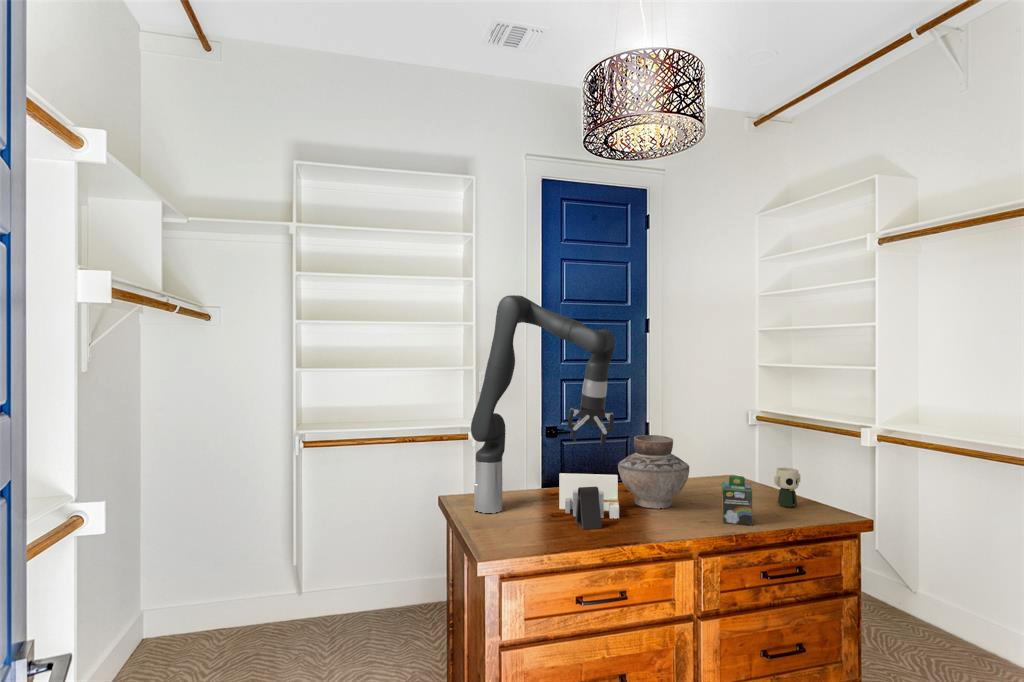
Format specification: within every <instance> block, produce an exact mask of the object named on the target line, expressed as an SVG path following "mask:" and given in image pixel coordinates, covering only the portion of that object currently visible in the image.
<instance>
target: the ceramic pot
mask: <svg viewBox="0 0 1024 682" xmlns="http://www.w3.org/2000/svg"><path fill="white" fill-rule="evenodd" d="M673 446H674V439H673V437H668V436H664V435H660V434H659V435H657V434H643V435H641V434H640V435H636V436H634V437H633V449H634V451H635V452H634V453H631V454H630V455H628V456H626V457H625V458H624V459H622V460H620V461H619V462H618V463H617V471H618V473H619V477H620V480H621V481H622V484H623V486H625V488H626V489H627V490H628V492H630V493H631V494H632V495H633V496H634V503H635V505H636V506H639V507H642V508H647V509H655V510H657V509H659V510H660V508H662V509H668V508H670V507H671V506H672V502H673V501H672V499H673V498H675V497H676V496H677V495H678V494H680V492H681V491H682V490H683V488H684V487H685V485H686V483H687V481H688V478H689V475H690V465H689V464H688V463H687V462H685V461H684V460H683V459H681V458H680V457H678V456H676V455H675V454H672V452H673V448H674V447H673Z"/></svg>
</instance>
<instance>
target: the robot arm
mask: <svg viewBox="0 0 1024 682" xmlns="http://www.w3.org/2000/svg"><path fill="white" fill-rule="evenodd" d="M520 323H524V324H529V325H534V326H537V327H539V328H542V329H544V330H545V331H546V332H549V333H550V334H551V335H553V336H555V337H556V338H559V339H560V340H564V341H567V342H569V343H572V344H575V345H576V346H578V347H580V348H581V349H583V350H584V351H586V352H588V353H590V354H591V355H590V358H589V360H587V362H586V365H585V372H584V373H585V374H584V380H583V383H582V389H581V400H580V406H579V407H580V408H579V409H577V408H576V409H574V407H570V409H569V414H568V420H567V428H569V429H571V430H572V433H571V439H572V440H573V442H574V443H575V442H576V441H577V436H578V435H577V434H578V429H579V428H580V427H581V426H582V425H583V424H585V425H586V426H593V427H594V426H598V427H599V429H600V430H601V435H600V446H603V445H604V444H605V443H606V441H607V435H608V434H613V433H614V420H615V415H614V413H613V412H609V413H608V412H607V413H606V412H605V410H606V409H605V408H606V402H607V393H608V392H607V390H608V375H609V368H610V367H609V366H610V364H611V361H612V357H613V354H614V350H615V344H616V342H615V340H616V339H615V337H614V334H613V333H612V332H611V331H610V330H608V329H599V330H597V329H596V330H595V329H592V328H589V327H587V326H586V324H585V323H583V322H581V321H578V320H576V319H573V318H571V317H568V316H565V315H563V314H559V313H556V312H555V311H551V310H549V309H547V308H544V307H543V306H541V305H538V304H537V303H535V302H534V301H533V300H530V299H528V298H527V297H525V296H523V295H518V294H517V295H515V294H514V295H506V296H504V297H502V298H501V300H499V302H498V305H497V309H496V315H495V324H494V333H493V338H492V342H491V346H490V351H489V356H488V360H487V363H486V369H485V372H484V378H483V382H482V387H481V391H480V395H479V398H478V402H477V405H476V407H475V411H474V413H473V417H472V420H471V424H470V433H471V436H472V438H473V440H474V441H476V442H478V443H483V445H482V447H481V448H480V449H478V450H477V451H476V453H475V482H474V486H473V487H474V488H473V489H474V490H473V491H474V494H473V495H474V496H473V498H474V501H473V503H474V504H473V505H474V506H473V507H474V508H473V511H478V512H477V513H479V512H482V513H481V514H485V513H492V514H497V513H496V512H498V513H500V511H501V512H502V511H503V456H504V453H505V448H506V422H505V420H504V417H503V416H502V415H501V414H499V413H496V412H495V409H496V406H497V404H498V403H499V401H500V399H501V398H502V396H503V395H504V394H505V393H506V391H507V389H508V388H509V386H510V384H511V382H512V379H513V375H514V371H515V367H516V355H515V348H514V347H515V346H514V339H515V338H514V337H515V333H516V329H517V326H518V324H520ZM577 414H578V416H579V418H578V420H577V421H576V422H575V423H573V419H574V417H576V416H577ZM605 418H606V419H607V421H608V427H606V426H605V424H604V423H603V420H604V419H605Z"/></svg>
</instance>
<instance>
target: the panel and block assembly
mask: <svg viewBox="0 0 1024 682" xmlns="http://www.w3.org/2000/svg"><path fill="white" fill-rule="evenodd" d="M558 474H559V475H558V476H559V477H558V478H559V479H558V480H559V486H558V487H559V489H558V491H559V493H558V494H559V495H558V497H559V499H558V501H559V502H558V503H559V505H558V506H559V507H558V508H559V510H564V511H565V512H564V513H565V514H571V510H573V490H576V491H578V488H579V487H598V490H599V491H603V492H604V499H605V500H619V497H618V496H619V494H618V491H619V490H618V489H619V486H618V485H619V483H618V481H619V480H618V479H619V476H618V474H604V473H603V474H599V473H598V474H594V473H564V472H563V473H562V472H560V473H558ZM619 504H620V503H615V502H604V512H605V511H606V512H608V515H609V519H613V518H614V519H617V518H618V519H620V505H619Z"/></svg>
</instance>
